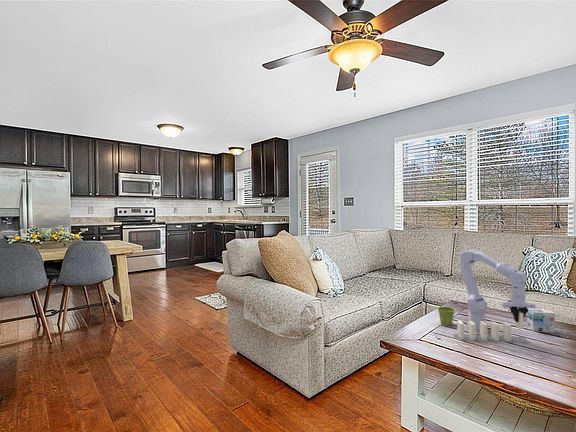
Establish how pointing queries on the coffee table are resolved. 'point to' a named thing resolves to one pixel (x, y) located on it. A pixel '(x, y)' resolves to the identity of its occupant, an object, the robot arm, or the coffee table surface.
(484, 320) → the robot arm
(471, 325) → the domino
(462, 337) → the domino
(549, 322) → the light bulb box
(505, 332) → the domino
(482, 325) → the domino
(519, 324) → the domino
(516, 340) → the mat
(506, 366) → the coffee table surface
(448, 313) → the plant pot
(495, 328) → the domino
